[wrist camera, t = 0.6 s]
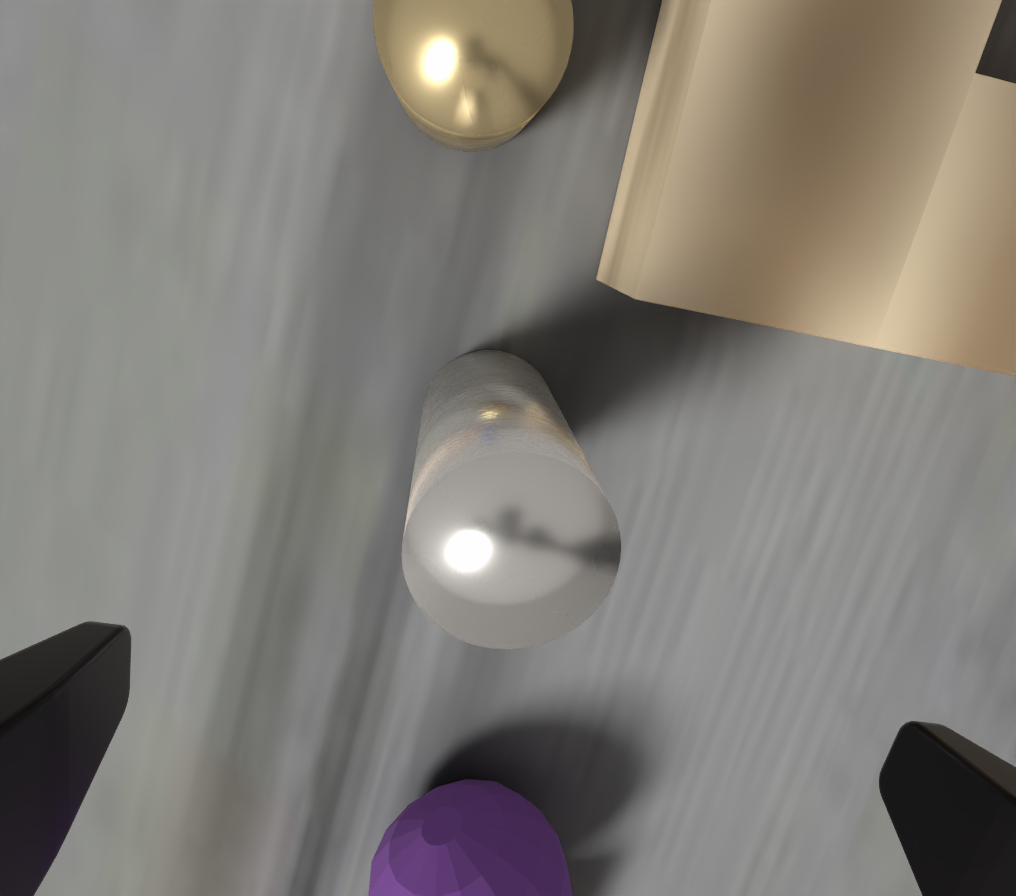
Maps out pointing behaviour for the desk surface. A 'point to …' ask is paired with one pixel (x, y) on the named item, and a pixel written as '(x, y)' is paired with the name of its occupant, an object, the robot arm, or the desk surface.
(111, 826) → the desk surface
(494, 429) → the long pin
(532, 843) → the purple maraca
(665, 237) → the bore block
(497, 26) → the gold rounded piece
